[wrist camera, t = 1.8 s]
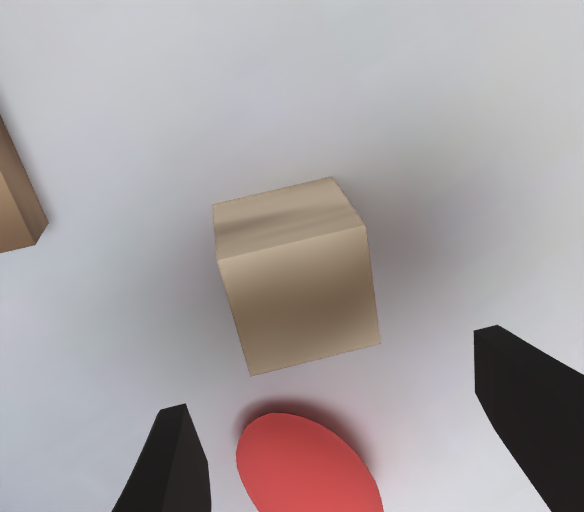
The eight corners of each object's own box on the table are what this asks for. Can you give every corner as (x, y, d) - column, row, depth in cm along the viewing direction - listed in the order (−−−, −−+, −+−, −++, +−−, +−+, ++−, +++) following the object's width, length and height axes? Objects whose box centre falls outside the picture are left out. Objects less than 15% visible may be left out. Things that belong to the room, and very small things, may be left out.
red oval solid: (355, 362, 26) (324, 432, 20) (410, 525, 27) (395, 635, 21) (261, 381, 28) (207, 450, 22) (316, 532, 29) (279, 636, 23)
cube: (347, 277, 22) (380, 343, 18) (240, 304, 22) (250, 376, 18) (331, 175, 20) (365, 224, 16) (212, 203, 20) (216, 260, 16)
